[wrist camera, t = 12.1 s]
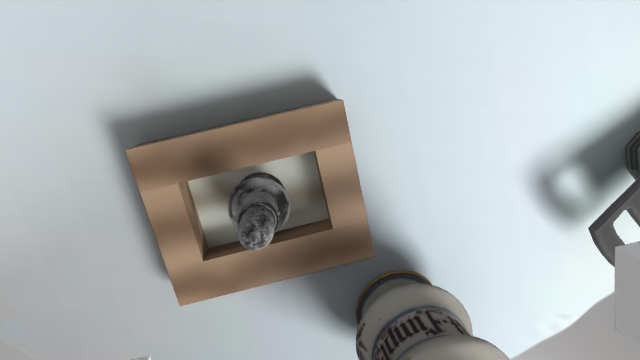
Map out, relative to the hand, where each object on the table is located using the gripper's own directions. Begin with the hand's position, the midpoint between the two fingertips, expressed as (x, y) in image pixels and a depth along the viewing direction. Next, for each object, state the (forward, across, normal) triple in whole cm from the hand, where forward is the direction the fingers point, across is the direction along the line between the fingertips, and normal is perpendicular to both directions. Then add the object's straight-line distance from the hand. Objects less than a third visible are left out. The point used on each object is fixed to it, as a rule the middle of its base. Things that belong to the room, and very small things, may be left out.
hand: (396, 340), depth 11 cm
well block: (+30, -6, -4) cm, 31 cm away
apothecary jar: (+30, +6, -20) cm, 37 cm away
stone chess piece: (+30, -6, -4) cm, 31 cm away
